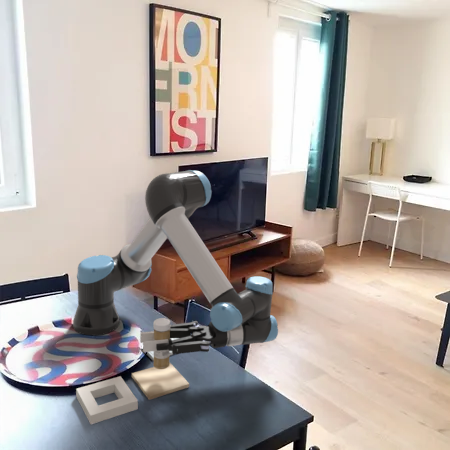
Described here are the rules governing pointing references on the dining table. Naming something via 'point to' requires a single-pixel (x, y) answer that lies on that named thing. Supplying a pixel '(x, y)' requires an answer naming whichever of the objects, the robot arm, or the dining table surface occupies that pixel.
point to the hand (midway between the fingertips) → (142, 342)
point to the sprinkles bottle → (161, 333)
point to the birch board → (159, 381)
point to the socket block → (109, 409)
